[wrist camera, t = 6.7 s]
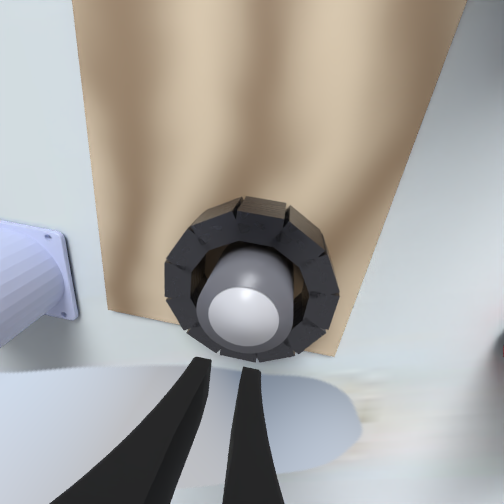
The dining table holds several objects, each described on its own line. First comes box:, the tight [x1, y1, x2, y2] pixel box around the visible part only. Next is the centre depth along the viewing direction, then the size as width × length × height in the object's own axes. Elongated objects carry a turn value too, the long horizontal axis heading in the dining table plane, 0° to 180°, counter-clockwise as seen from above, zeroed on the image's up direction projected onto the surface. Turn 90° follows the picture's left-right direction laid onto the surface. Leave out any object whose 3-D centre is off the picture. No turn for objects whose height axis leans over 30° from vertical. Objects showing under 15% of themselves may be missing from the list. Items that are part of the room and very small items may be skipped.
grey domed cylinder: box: [196, 241, 294, 353], centre depth 16 cm, size 5×5×5 cm
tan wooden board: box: [72, 0, 467, 357], centre depth 16 cm, size 18×24×1 cm
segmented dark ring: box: [164, 196, 340, 362], centre depth 17 cm, size 10×10×3 cm
